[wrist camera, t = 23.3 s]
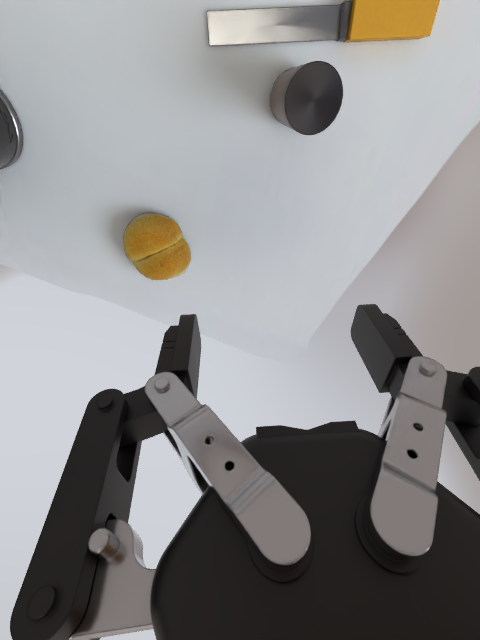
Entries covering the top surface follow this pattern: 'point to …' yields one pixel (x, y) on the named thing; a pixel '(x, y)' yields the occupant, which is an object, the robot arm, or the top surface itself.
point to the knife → (324, 22)
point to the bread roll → (156, 246)
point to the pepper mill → (307, 97)
